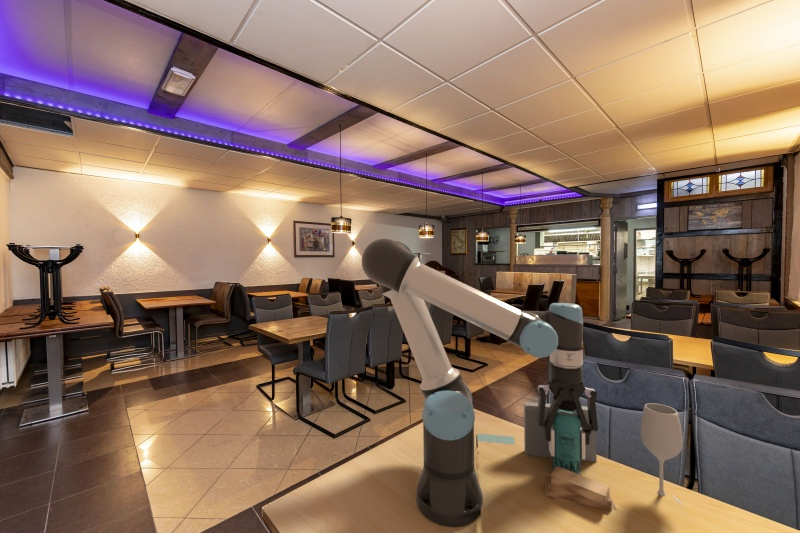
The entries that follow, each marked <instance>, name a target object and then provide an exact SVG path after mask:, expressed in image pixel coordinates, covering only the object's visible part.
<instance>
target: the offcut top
mask: <svg viewBox="0 0 800 533" xmlns="http://www.w3.org/2000/svg"><path fill="white" fill-rule="evenodd" d="M550 476H551V483H553V484H555V485H557V486H560V487H562V488H565V489H567V490H569V491H572V492H574V493H577V494H579V495H581V496H584V497H586V498H589V499H591V500H594V501H596V502H598V503H601V504H603V505H606V503H607V501H608V498H609V495H610V496H611V494H610V492H611V491H610V490H611V488H610V485H609V484H606V483H603V482H600V481H598V480H595V479H593V478H589V477H587V476H585V475H582V474H581V473H580V474H577V473H574V472H572V471H569V470H566V469H564V468H561V467H558V466H556V468H555V469H553V471H552V472H551V474H550Z"/></svg>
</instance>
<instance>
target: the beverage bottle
mask: <svg viewBox="0 0 800 533" xmlns="http://www.w3.org/2000/svg"><path fill="white" fill-rule="evenodd" d="M559 409H561V410H558V411H557V414H556V417H555V419H554V422H553V429H554V431H555V456H552V457H551V458H552V459H551V460H552V461H551V462H552V469H553V470H554V469H555V468H556V466H558V467H561V468H564V469H566V470H569V471H572V472H574V473H577V474H580V475H581V473H582V469H581V468H582V467H581V465H582V464H581V462H582V461H581V456H580V418H579V417H578V416H577V415H576V414H575V413H573V412H571V411H575V410H576V407H575V403H574V402H567V401H564V402H562V403H561V405H560V406H559Z"/></svg>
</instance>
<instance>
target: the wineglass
mask: <svg viewBox="0 0 800 533" xmlns="http://www.w3.org/2000/svg"><path fill="white" fill-rule="evenodd" d="M640 438H641V441H642V443H643V445H644V446H645V448H646V449H647V450H648V451H649V452H650V453H651V454H652V455H653V456H654V457H655V458H656V459H657V460H658V466H659V470H658V472H659V473H658V474H659V477H658V478H659V483H658V484H659V488H658V490H657V491H656V493H657V494H658V495H659V496H660V497H661V496H662V497H667V494H666V493H665V490H664V464H665V461H667V460H671V459H672V458H675V457H676V456H678V455H679V454H680V453H681V451H682V449H683V444H684V443H683V442H684V440H683V439H684V438H683V430H682V425H681V421H680V417H679V413H678V411H677V410H676V409H675V408H674V407H671V406H668V405H665V404H662V403H653V402H652V403H645V404H644V406H643V410H642V415H641V422H640ZM671 496H672V497H673V498H674V499H675V501H676V502H677V503H678V504H679V505H680V506H681V507H683V504H682V502H681V501H680V499H679V498H677V496H675V495H674V494H671Z"/></svg>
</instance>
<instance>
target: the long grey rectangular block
mask: <svg viewBox="0 0 800 533" xmlns="http://www.w3.org/2000/svg"><path fill="white" fill-rule="evenodd" d="M550 405H551V403H546V405H545V416H544V420H545V419H546V416H547V413H548V410H549V408H550ZM581 407H582V410H583V412H584V415H585V418H586V421H587V423H589V417H588V407H587V405H586V406H585V405H581ZM558 410H561V409H559V408H558ZM537 412H538V402H530V401H524V402H523V415H524V416H523V420H524V421H523V426H524V427H523V428H524V429H523V430H524V431H523V432H524V433H523V434H524V439H523V440H524V442H523V443H524V453H525V455H526V456H532V457H533V456H534V457H542V458H552V456H551V454H550V451H549V441H547V440H546V438H545V427H543V426H540V425H539V424H538V421H537ZM571 412H573V413H575V414H576V415H577V412H576V410H575V411H571ZM577 416H578V415H577ZM552 427H553V425H552ZM580 428H582V426H581V423H580ZM597 457H598V456H597V431H594V430H593V431H591V434H589V445H585V459H582V458H581V462H582V461H583V462H592V463H597V461H598V460H597Z"/></svg>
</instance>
